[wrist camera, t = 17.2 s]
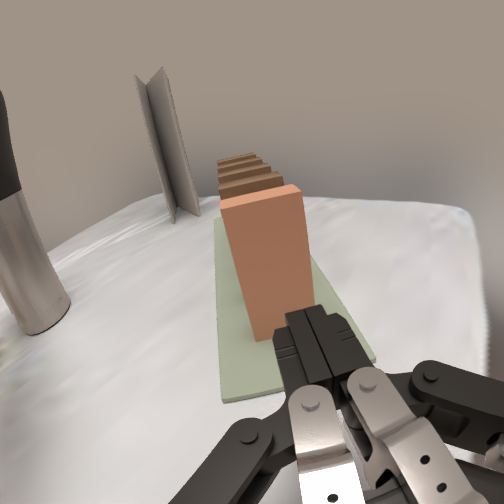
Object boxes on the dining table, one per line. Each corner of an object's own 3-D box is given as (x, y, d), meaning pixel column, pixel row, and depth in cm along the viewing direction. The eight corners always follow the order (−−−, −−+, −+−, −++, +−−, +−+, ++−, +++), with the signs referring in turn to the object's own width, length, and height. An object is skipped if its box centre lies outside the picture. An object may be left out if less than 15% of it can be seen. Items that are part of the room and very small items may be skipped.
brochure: (200, 216, 54) (162, 66, 40) (173, 224, 53) (133, 75, 40) (197, 198, 67) (168, 79, 53) (175, 205, 66) (145, 86, 53)
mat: (375, 362, 18) (376, 357, 17) (223, 403, 17) (221, 399, 17) (276, 207, 50) (275, 204, 50) (215, 221, 50) (214, 218, 49)
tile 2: (299, 291, 26) (282, 175, 21) (247, 304, 26) (218, 189, 21) (294, 280, 28) (276, 171, 23) (245, 292, 28) (218, 184, 23)
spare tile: (316, 326, 22) (301, 191, 17) (255, 342, 22) (220, 209, 17) (309, 311, 24) (292, 184, 19) (252, 326, 23) (219, 200, 18)
